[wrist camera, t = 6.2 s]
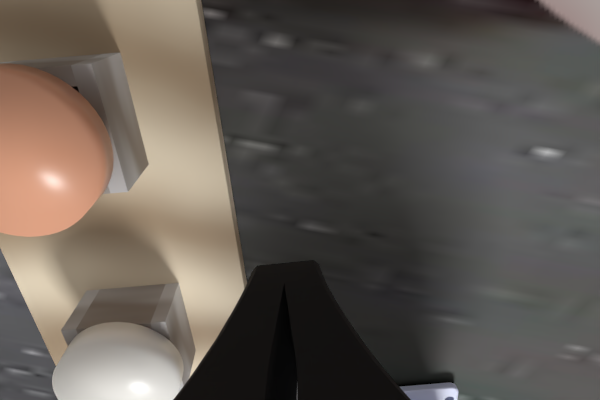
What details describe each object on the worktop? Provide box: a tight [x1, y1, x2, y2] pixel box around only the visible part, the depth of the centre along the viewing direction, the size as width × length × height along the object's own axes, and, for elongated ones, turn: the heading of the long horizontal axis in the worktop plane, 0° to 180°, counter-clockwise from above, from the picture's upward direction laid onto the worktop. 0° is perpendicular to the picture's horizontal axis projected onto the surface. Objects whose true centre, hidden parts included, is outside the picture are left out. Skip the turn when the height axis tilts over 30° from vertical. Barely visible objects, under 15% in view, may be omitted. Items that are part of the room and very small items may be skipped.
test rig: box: [0, 0, 247, 393], centre depth 17 cm, size 21×10×4 cm, turn 4°
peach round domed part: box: [0, 63, 114, 237], centre depth 13 cm, size 5×5×4 cm
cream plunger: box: [52, 322, 184, 400], centre depth 18 cm, size 5×5×4 cm
